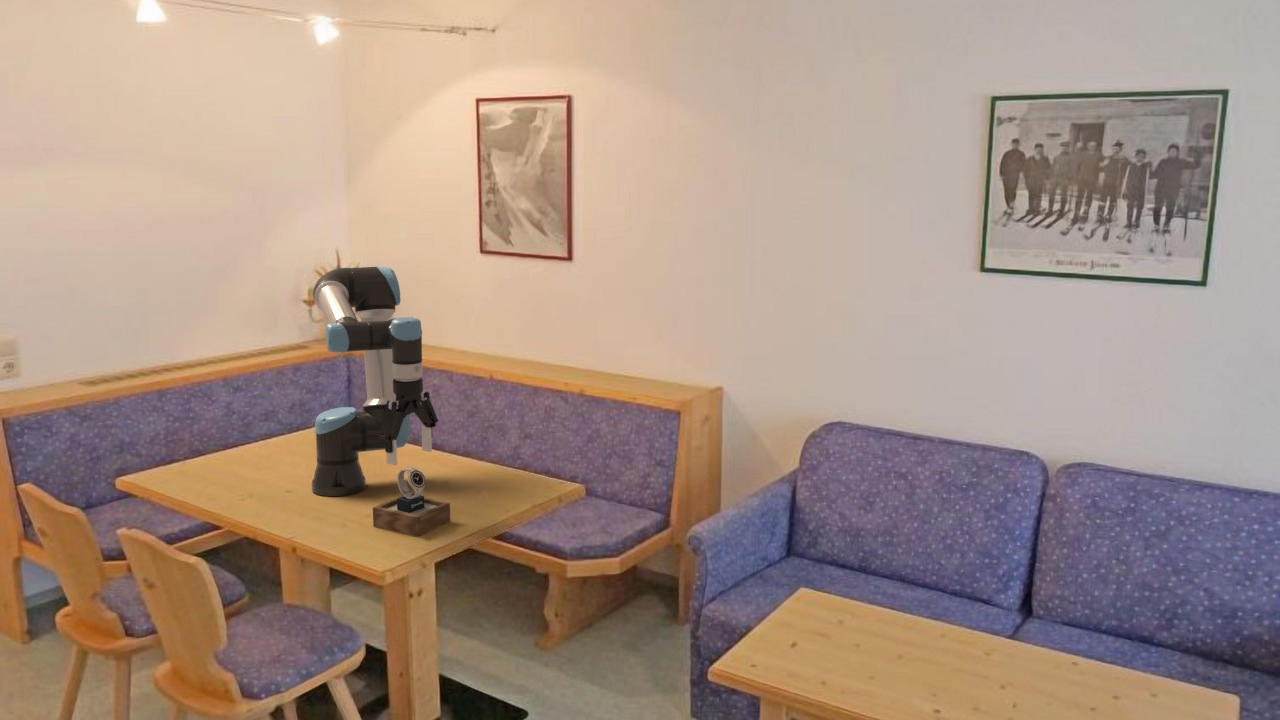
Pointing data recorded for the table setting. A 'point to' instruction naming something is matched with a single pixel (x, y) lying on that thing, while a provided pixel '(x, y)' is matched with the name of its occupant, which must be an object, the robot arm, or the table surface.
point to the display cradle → (411, 517)
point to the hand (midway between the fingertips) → (409, 457)
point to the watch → (408, 500)
